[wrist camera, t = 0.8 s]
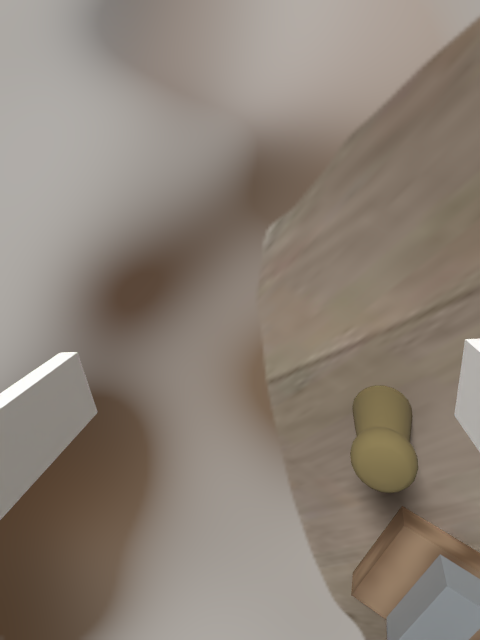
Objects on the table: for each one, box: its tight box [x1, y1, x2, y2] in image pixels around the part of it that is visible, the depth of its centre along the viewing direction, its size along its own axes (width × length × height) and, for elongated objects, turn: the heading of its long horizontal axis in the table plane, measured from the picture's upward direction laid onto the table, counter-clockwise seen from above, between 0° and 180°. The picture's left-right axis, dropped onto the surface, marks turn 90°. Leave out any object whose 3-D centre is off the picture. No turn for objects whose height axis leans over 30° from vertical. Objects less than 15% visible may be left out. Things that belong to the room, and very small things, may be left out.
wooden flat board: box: [351, 506, 480, 640], centre depth 36 cm, size 12×12×4 cm
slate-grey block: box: [387, 554, 480, 640], centre depth 33 cm, size 4×11×4 cm, turn 156°
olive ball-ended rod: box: [350, 386, 418, 493], centre depth 31 cm, size 6×6×11 cm
